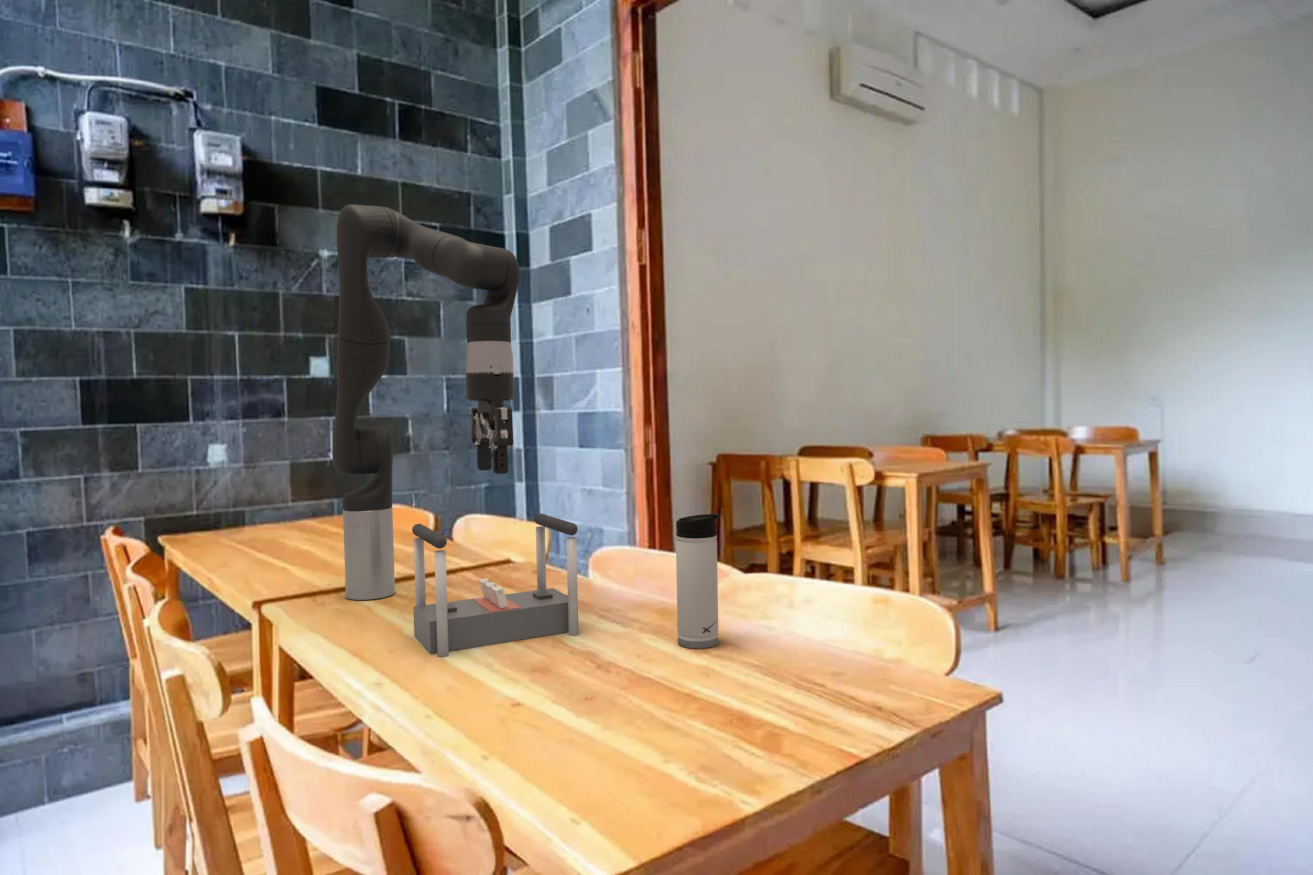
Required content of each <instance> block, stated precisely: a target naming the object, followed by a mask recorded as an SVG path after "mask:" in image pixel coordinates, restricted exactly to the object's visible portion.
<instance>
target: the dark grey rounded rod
mask: <svg viewBox="0 0 1313 875" xmlns="http://www.w3.org/2000/svg"><path fill="white" fill-rule="evenodd" d="M411 531H412V534H413V535H414V536H416V538H421V539H422V540H424V542H426V543H427V544H429V545H430V546H433V547H434V548H436V549H439V550H440V549H441V550H442V549H444V548H445V547H446V546H447V543H448V541H447V540H448V539H447V538H446V536H444V535H443V534H441V533H439V532H437V531H435V530H433V529H431V528H430V527H428V526H426V525H423V523H415V524H414V525H413V526H412V529H411Z"/></svg>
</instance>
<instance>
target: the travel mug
mask: <svg viewBox="0 0 1313 875" xmlns="http://www.w3.org/2000/svg"><path fill="white" fill-rule="evenodd" d="M719 518H720V514H719V512H713V513H709V514H705V513H704V514H696V515H689V516H688V515H687V516H685V517H683V516H682V517H680V518H678V520H676V523H675V525H676V526H675V527H676V528H675V529H676V532H675V539H676V540H675V548H676V549H675V557H676V558H675V559H676V560H675V562H676V564H675V565H676V569H675V570H676V601H677V602H676V610H677V611H676V614H677V615H676V616H677V617H676V618H677V619H676V620H677V623H676V624H677V626H676V627H677V628H676V630H677V643H678V645H680V646H681V647H683V648H687V649H693V650H694V649H696V650H700V649H701V650H703V649H704V650H705V649H709V648H713V647H715V646H716V645H718V644H719V595H718V593H719V592H718V591H719V588H718V587H719V586H718V585H719V584H718V583H719V582H718V579H719V578H718V539H717V538H718V535H717V522H716V521H717V520H719Z"/></svg>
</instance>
